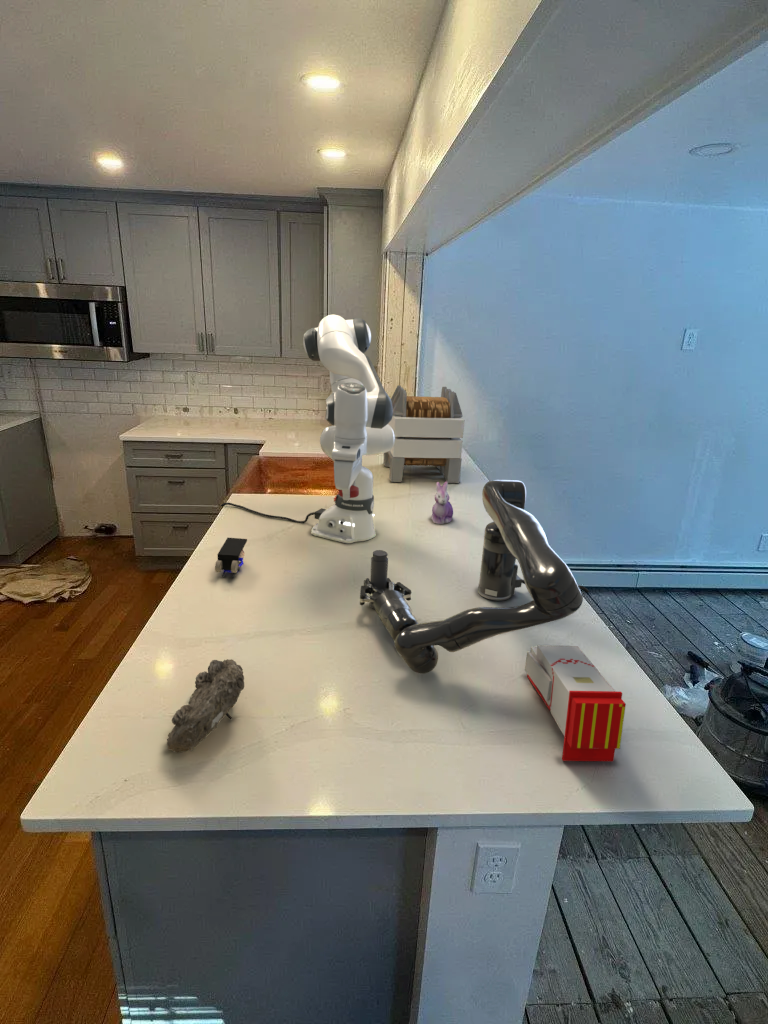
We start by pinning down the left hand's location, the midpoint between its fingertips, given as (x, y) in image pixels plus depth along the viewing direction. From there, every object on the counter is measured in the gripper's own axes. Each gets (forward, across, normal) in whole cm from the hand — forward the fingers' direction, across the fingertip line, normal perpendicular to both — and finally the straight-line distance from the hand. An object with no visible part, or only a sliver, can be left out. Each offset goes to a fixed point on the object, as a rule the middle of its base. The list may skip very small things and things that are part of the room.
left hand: (348, 495), depth 155 cm
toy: (+25, +48, +54) cm, 76 cm away
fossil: (+25, +62, -14) cm, 68 cm away
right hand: (+20, +10, +10) cm, 24 cm away
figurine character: (+26, +1, -34) cm, 43 cm away
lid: (-2, 0, 0) cm, 2 cm away
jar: (+26, +13, +11) cm, 31 cm away
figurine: (+27, -57, +26) cm, 68 cm away
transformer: (+28, -120, +12) cm, 123 cm away
